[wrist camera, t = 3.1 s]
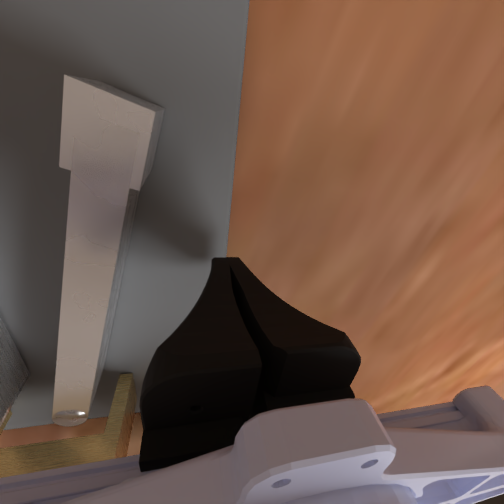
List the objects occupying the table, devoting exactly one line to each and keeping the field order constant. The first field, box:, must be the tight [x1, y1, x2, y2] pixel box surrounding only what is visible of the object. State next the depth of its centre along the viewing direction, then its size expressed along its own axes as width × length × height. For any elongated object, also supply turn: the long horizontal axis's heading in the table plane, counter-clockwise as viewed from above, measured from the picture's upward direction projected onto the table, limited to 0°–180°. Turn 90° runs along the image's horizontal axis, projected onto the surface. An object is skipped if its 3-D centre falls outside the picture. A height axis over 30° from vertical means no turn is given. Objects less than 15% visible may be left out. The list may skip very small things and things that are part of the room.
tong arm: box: [52, 74, 165, 426], centre depth 11 cm, size 2×16×3 cm, turn 157°
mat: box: [0, 0, 249, 430], centre depth 12 cm, size 20×26×1 cm
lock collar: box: [0, 373, 137, 478], centre depth 14 cm, size 8×3×5 cm, turn 82°
